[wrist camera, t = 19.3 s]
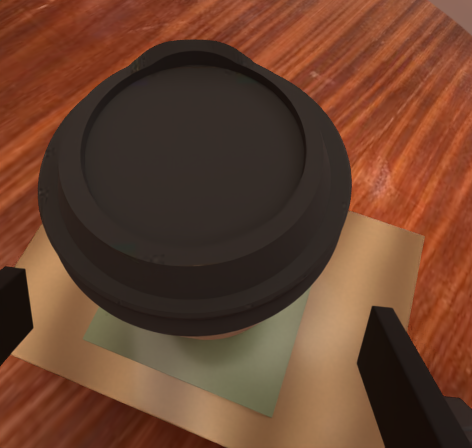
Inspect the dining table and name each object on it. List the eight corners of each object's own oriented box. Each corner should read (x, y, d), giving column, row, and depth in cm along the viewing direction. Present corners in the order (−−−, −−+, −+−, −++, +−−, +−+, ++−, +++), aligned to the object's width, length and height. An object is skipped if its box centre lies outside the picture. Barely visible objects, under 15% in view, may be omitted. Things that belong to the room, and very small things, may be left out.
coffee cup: (293, 356, 21) (414, 312, 8) (134, 364, 21) (-41, 333, 7) (278, 213, 25) (343, 5, 11) (142, 218, 25) (34, 9, 11)
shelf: (375, 272, 33) (426, 234, 25) (328, 471, 27) (375, 512, 19) (131, 185, 36) (101, 125, 27) (40, 349, 30) (-33, 336, 21)
